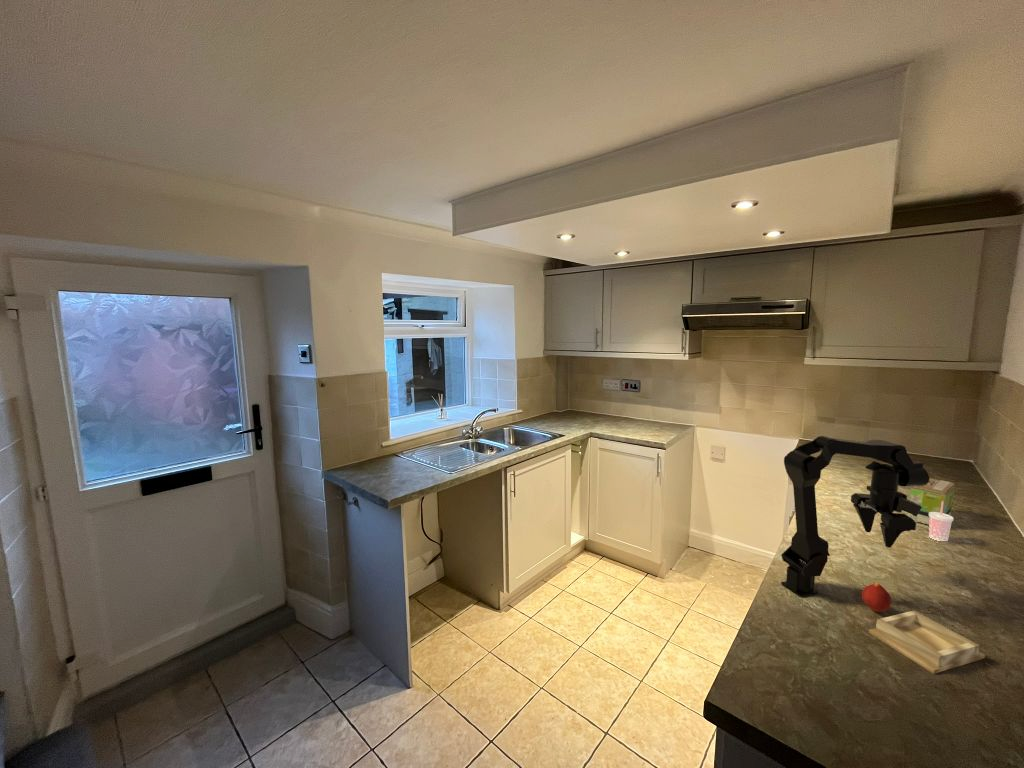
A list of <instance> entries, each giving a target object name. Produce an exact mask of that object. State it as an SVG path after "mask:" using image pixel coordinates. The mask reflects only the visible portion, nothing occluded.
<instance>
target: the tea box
mask: <svg viewBox="0 0 1024 768" xmlns="http://www.w3.org/2000/svg"><path fill="white" fill-rule="evenodd" d="M955 487H956V483H954V482H951V481H947V480H941V479H938V478H937V479H936V478H931V477H930V478H929V482H928V483H927V484H926V485H924V486H910V494H909V500H910V501H913V502H915V503H916V504H918V505H920V506H922V508H921V510H920V512H919V513H918V515H917V517H916V516H913V515H912V514H910V513H908V512H906V515H907V516H909V517H910V518H912V519H914V520H917V521H921V522H926V523H929V519H930V516H929V512H939V513H940V511H941V503H942V501H943V511H942V513H944V514H947V515H950V516H952V515H951V514H952V510H953V509H952V507H953V501H954V493H955Z"/></svg>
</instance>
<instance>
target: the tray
mask: <svg viewBox="0 0 1024 768" xmlns="http://www.w3.org/2000/svg"><path fill="white" fill-rule="evenodd" d="M868 633H869V634H870V635H872V636H873V637H875V638H876V639H878V640H879V641H880V642H883V643H884V644H885V645H887V646H889V647H891V648H892V649H894V650H895V651H897V652H899V653H900V654H901V655H902V656H905V657H906V658H908V659H909V660H911V661H913V662H914V663H916V664H917V665H919V666H921V667H922V668H924V669H925V670H927V671H928V672H930V673H932V674H933V675H934V674H938V673H940V672H944V671H948V670H951V669H954V668H957V667H960V666H963V665H967V664H970V663H974V662H977V661H981V660H983V659H985V658H986V654H984V653H982V652H980V651H979V649H980V645H979V644H977V643H976V642H974V641H972V640H970V639H968V638H967V637H964V636H963V635H961V634H959V633H957V632H956V631H954V630H952V629H950V628H948V627H946V626H944V625H942V624H940V623H938V622H936V621H934V620H932V619H931V618H929V617H927V616H925V615H923V614H921V613H920V612H918V611H916V610H911V611H907V612H903V613H898V614H895V615H890V616H886V617H881V618H878V619H876V626H875V627H874V628H870V629H868Z"/></svg>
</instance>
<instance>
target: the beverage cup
mask: <svg viewBox="0 0 1024 768" xmlns="http://www.w3.org/2000/svg"><path fill="white" fill-rule="evenodd" d="M942 511H943V501H942V503H941V511H940V513H939V512H929V516H930V519H929V526H928V527H929V529H928V538H929V537H930V538H932V539H934V540H937V541H949V538H950V537H949V536H950V534H951V533H950V531H951V527H952V522H954V516H952V515H951V516H950V515H947V514H944V513H942Z"/></svg>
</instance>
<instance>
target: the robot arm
mask: <svg viewBox="0 0 1024 768" xmlns="http://www.w3.org/2000/svg"><path fill="white" fill-rule="evenodd" d="M819 452H820V454H819V455H818V456H816V457H815V456H813V455H814V454H816V453H819ZM836 454H840V455H847V456H854V457H855V456H856V457H862V458H870V459H874V460H877V461H878V462H877V461H872V462H870V464H869V463H868V464H867V465H866V466H865V469H867V470H869V471H872V472H871V481H870V485H866V490H867V491H869V493H858V492H857V493H853V494H851V496H850V502H851V503H852V506H853V507H854V509H855V511H856V513H857V515H858V518H859V519H860V522H861V524H862V526H863V529H864V531H865V532H866V533H871V531H872V530H873V525H874V522H875V517H876V515H877V514H878V513H879V514H880V521H881V522H879V526H880V531H881V534H882V538H883V543H884V545H885V547H886V548H892V547H893V545H894V544H895V542H896V540H897V539H899V536H900V535H901V534H903V533H905V532H910V531H916V529H917V524H918V523H916V522H915V521H914V520H913V519H912V518H910V517H909V516H907V514H905V513H910V514H912V515H913V516H916V517H917V515H918V513H919V512H920V510H921V508H922V506H920V505H918V504H916V503H915V502H913V501H910V498H909V499H908V495H907V494H905V493H903V492H901V491H899V487H911V486H924V485H926V484H927V483H928V482H929V478H931V477H930V476H929V473H928V471H927V469H925V467H924V463H923V462H920V461H916V460H912V458H911V457H910V455H909V454H908V451H907V449H906V446H904V445H902V444H898V443H894V442H891V441H888V440H887V441H886V440H883V439H873V440H872V439H871V440H868V441H860V440H859V441H857V440H850V439H843V438H835V437H829V436H825V435H820V436H817V437H816V438H814V439H813V440H811V441H809V442H807V443H804V444H801V445H798V446H797V447H795V448H794V449H793V450H792V451H791V450H790V452H788V453H787V454H786V455H785V456H784V458H783V465H784V468H785V472H786V474H787V476H788V478H789V479H790V481H791V482H792V486H793V487H792V488H793V500H794V511H795V512H794V513H795V524H796V525H795V527H796V532H795V533H794V534H793V536H792V537H791V542H790V543H791V545H790V546H789V547H788V548H786V549H785V550H784V551H783V552H782V554H781V559H782V561H783V562H785V563H786V564H787V565H788V566H787V567H786V568H787V569H786V579H785V581H781V585H782V586H783V587H784V588H786V589H788V590H789V591H791V592H792V593H793V594H795V595H797V596H799V597H800V598H801V597H807V596H812V595H815V594H819V590H817V589H816V588H814V587H815V579H816V577H820V576H821V575H822V573H823V570H824V568H825V566H826V565H827V563H828V557H830V556H831V555H830V553H829V542H828V540H826V539H824V538H822V537H820V535H819V528H818V514H817V498H816V484H817V483H818V482H819V480H820V479H821V476H822V475H821V474H822V470H824V469H825V468H827V467H828V466H829V465H830V463H831V461H832V459H833V456H835V455H836ZM879 461H880V462H882V463H880V462H879ZM895 512H896V513H895ZM902 512H905V513H902Z"/></svg>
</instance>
